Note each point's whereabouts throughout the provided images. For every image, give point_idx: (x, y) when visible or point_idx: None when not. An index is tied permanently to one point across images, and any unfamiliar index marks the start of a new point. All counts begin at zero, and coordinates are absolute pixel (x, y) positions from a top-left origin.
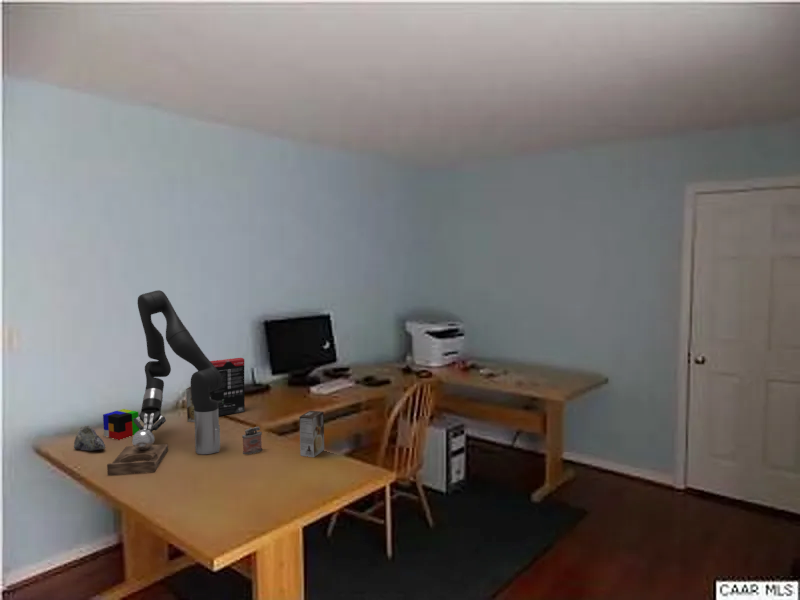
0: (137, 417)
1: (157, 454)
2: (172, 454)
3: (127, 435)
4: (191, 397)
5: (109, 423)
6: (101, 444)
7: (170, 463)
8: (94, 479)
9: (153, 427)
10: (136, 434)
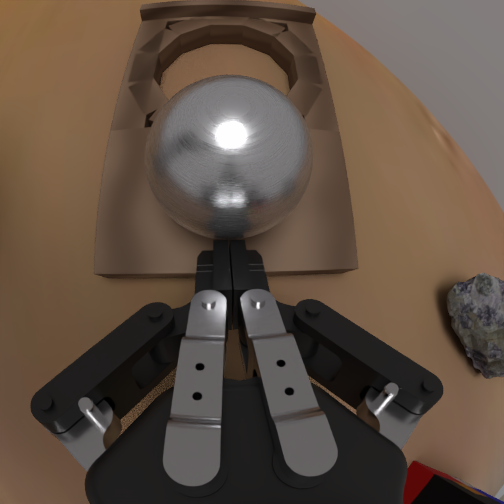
0: (409, 434)
1: (134, 102)
2: (79, 200)
3: None
4: None
5: (484, 496)
6: (470, 284)
7: (90, 94)
8: (330, 26)
9: (166, 304)
10: (277, 89)
